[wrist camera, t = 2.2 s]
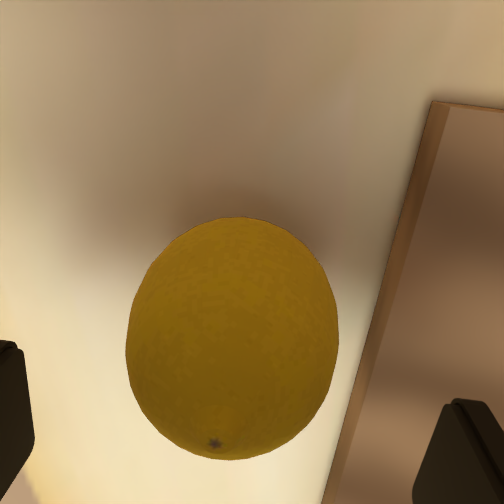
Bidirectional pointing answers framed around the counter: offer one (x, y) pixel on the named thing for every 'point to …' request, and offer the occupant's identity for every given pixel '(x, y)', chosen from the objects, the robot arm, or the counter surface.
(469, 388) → the serving board
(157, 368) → the lemon
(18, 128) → the counter surface
